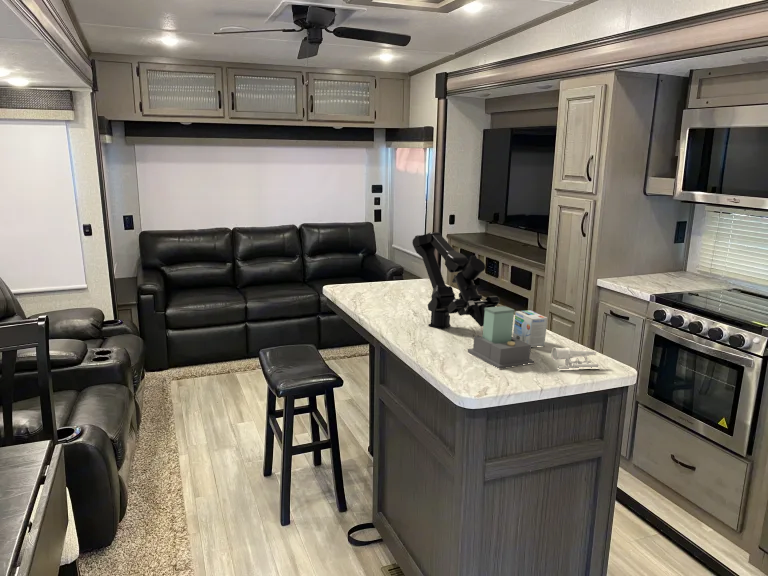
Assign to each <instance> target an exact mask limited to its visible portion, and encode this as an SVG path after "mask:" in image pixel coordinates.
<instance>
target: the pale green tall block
mask: <svg viewBox="0 0 768 576" xmlns="http://www.w3.org/2000/svg"><path fill="white" fill-rule="evenodd" d="M484 310H485V314H484V326H482V327H483V328H482V337H483V338H485V339H487V340H489V341H491V342H493V343H495V344H498V343H505V342H508V341H511V338H512V337H513V329H514V319H515V313H516V310H515V309H514V308H511V307H510V306H509V307H508V306H506V305H501V306H495V307H488V308H485V309H484Z"/></svg>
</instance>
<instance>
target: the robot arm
mask: <svg viewBox="0 0 768 576" xmlns="http://www.w3.org/2000/svg"><path fill="white" fill-rule="evenodd" d="M412 247H413V248H414V250H415V253H416V254H417V255H419V256H420V257H421V258H422V261H423V264H424V267H425V270H426V272H427V275H428V278H429V282H430V284H431V287H432V293H431V300H430V301H429V302H428V303H427V310H428V311H429V312H431V314H430V323H428V324H427V325H428V327H433V328H437V329H441V330H444V329H446V328H448V327H451V326H452V325H451V324H450V322H451V315H450V314H458V315H459V316H470V317H471V318H472V319H473V320H474V321H475V322H476V324H478V325H479V327H483V326H484V314H485V310H484V309H485V308H488V307H497V306H498V305H499V303H501V301H500V297H499V296H497V295H489V296H487V297H486V298H485V299H484V300H482V299H483V296H482V294H479V291H478V289H479V286H478V285H477V284H475V283H474V281H475V280H477V279H478V277H479V276H480V275H481V274H483V272H484V271H485V269H486V264H485V263H484V261H482V260H481V259H480V258H477V255H471V256H470V257H469V258H468V257H467V256H466V255H465V254H463V253H461V252H459V251H456V250H455V249H454V248H453V247H452V246H451V245H450V243H449V242H448V241H447V240H446V238H445V237H443V235H442V233H441V232H439V231H436V232H435V231H434V232H433V231H431V232H427V233H425V234H421V235H420V234H419V235H418V234H417V235H415V236H414V238H413V239H412ZM435 250H436V251H437V252H438V254H439V255H441V257H442V258H443V259H444V265H445V267H446V269H447V270H448V272H449V273H456V274H454V276H453V279H452V283H455V284H456V285H457V287H458V290H459V293H458V298H456V294H455V292H454V289H453V287H452V285H448V286H447V285H446V283H445V280H444V277H443V275H442V271H441V269H440V265H439V263H438V260H437V257H436V254H435Z"/></svg>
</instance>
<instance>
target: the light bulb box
mask: <svg viewBox="0 0 768 576" xmlns="http://www.w3.org/2000/svg"><path fill="white" fill-rule="evenodd" d="M547 326H548V317H547V316H544V315H542V314H539V313H537V312H536V311H534V310H531V309H530V310H515V312H514V322H513V331H512V337H514V338H516V339H518V340H520V341H523V342H525V343H527V344H529V345H531V347H537V346H544V347H545V343H546V335H547ZM537 348H538V347H537Z"/></svg>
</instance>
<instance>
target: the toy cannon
mask: <svg viewBox="0 0 768 576" xmlns="http://www.w3.org/2000/svg"><path fill="white" fill-rule="evenodd" d="M550 353H551V358H552V359H553V361H557V360H565V361H564V364H565V365H564V366H560V365H558V366H557V368H559V369H569V368H579V367H591V368H592V367H598V366H600V367H601V365H599V363H597V362H596V363H592V361H591V360H588V357H587V356H596V354H597V351H596V350H586V349H573V348H570V347H568V346H567V347H565V348H564V347H561V348H560V347H552V349H551V352H550ZM580 357H584V360H579V359H578V358H580ZM572 358H573V359H574V358H576V359H575V360H574V361H572Z"/></svg>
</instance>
